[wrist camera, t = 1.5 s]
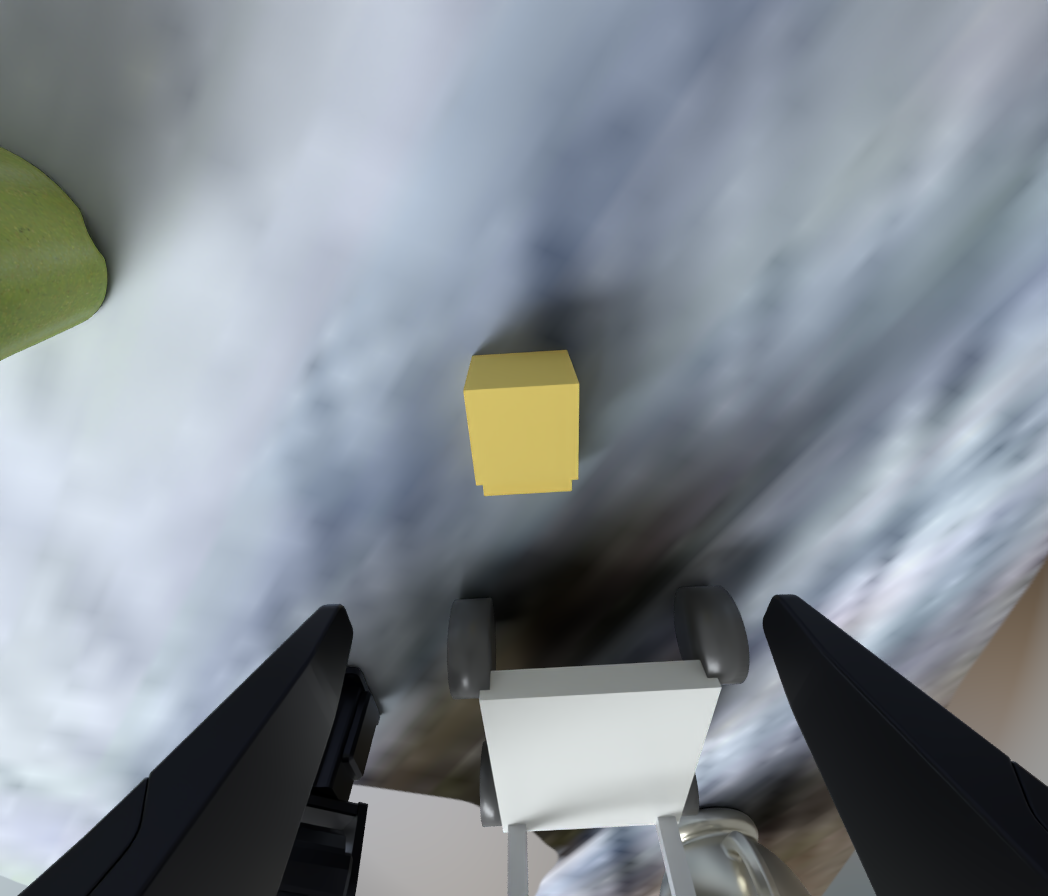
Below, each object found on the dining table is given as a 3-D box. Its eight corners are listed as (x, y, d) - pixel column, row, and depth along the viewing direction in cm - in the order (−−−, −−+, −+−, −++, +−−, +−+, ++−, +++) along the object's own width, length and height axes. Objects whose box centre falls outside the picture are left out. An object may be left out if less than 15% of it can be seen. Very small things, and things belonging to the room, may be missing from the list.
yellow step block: (486, 471, 21) (481, 524, 18) (472, 354, 18) (463, 390, 15) (566, 467, 21) (577, 519, 18) (566, 348, 18) (579, 383, 15)
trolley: (670, 750, 35) (754, 1043, 23) (488, 760, 35) (476, 1057, 23) (714, 566, 25) (915, 927, 12) (455, 580, 25) (399, 954, 12)
